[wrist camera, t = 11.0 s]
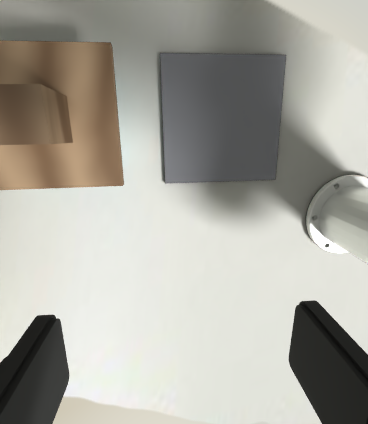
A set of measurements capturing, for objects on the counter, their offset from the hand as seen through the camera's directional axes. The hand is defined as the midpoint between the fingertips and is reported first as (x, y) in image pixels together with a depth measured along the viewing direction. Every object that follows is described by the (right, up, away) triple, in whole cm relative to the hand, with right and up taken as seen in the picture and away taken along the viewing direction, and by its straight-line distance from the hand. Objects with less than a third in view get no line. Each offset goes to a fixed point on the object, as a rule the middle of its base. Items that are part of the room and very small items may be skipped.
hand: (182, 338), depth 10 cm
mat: (+5, +17, +24) cm, 30 cm away
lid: (-14, +15, +17) cm, 26 cm away
